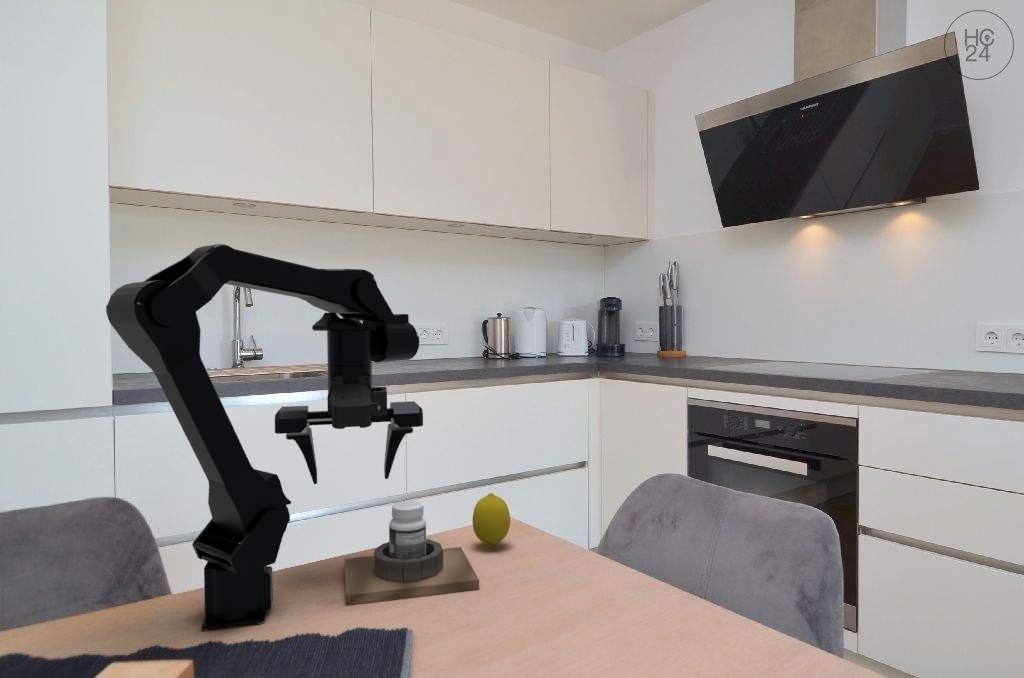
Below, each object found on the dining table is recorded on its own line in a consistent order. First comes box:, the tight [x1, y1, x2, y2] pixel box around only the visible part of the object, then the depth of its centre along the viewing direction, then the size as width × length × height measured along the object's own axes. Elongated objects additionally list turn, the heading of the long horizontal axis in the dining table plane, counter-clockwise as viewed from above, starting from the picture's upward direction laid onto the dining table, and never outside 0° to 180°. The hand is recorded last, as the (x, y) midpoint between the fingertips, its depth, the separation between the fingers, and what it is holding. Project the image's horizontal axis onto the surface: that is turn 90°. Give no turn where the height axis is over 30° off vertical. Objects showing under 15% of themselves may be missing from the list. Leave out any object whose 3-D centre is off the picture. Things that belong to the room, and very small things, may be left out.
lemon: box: [472, 492, 511, 548], centre depth 94 cm, size 6×6×8 cm
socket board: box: [343, 538, 480, 606], centre depth 83 cm, size 16×12×4 cm
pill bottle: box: [388, 500, 427, 560], centre depth 83 cm, size 5×5×8 cm
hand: (351, 480), depth 86 cm, fingers open, 9 cm apart
